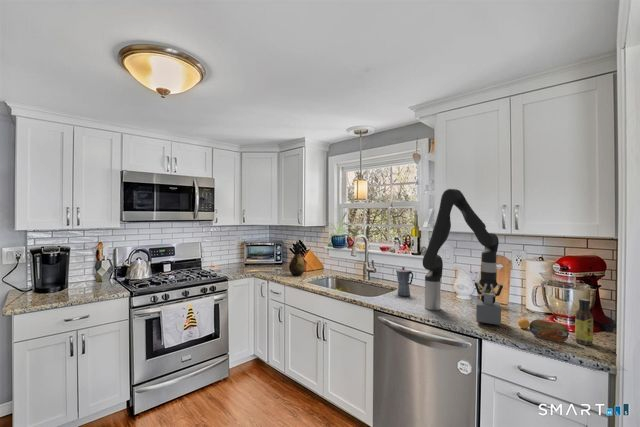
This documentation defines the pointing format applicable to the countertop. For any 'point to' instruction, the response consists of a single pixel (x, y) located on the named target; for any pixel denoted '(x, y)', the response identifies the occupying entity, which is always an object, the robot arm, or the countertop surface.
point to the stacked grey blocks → (488, 310)
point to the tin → (549, 330)
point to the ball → (523, 323)
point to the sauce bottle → (584, 323)
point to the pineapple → (297, 262)
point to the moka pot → (404, 282)
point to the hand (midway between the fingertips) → (488, 302)
